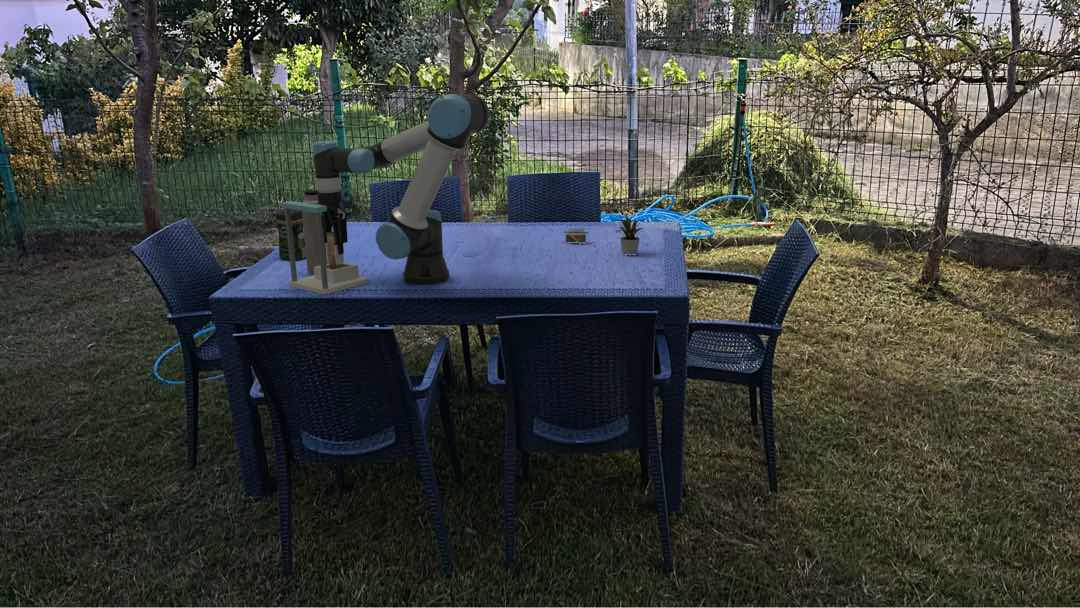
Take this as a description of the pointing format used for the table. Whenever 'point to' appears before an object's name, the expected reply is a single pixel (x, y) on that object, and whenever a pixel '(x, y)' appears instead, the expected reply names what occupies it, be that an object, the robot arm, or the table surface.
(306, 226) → the thermos bottle
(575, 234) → the platform
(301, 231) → the coffee jar
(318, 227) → the cream tall frame
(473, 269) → the table surface
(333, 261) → the oak peg
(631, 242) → the house plant
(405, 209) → the robot arm
